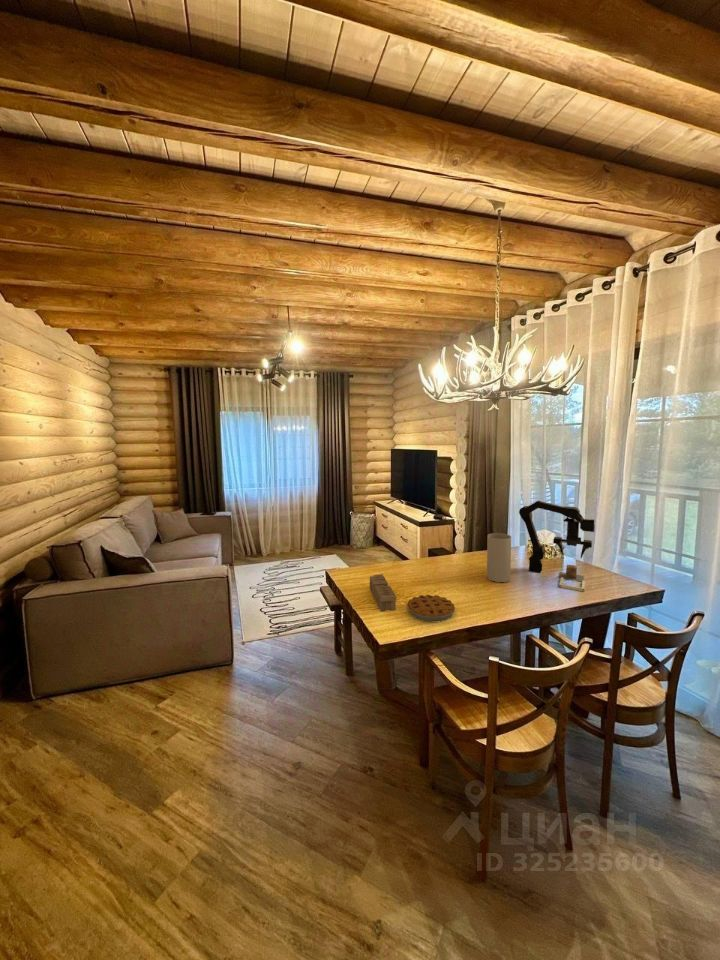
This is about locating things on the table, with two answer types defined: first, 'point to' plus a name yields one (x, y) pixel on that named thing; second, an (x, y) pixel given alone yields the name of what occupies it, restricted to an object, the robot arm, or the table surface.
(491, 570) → the cylinder vase
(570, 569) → the block
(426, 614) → the pie
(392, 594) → the block tower
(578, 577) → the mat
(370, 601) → the table surface
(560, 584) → the light wooden flat tray
